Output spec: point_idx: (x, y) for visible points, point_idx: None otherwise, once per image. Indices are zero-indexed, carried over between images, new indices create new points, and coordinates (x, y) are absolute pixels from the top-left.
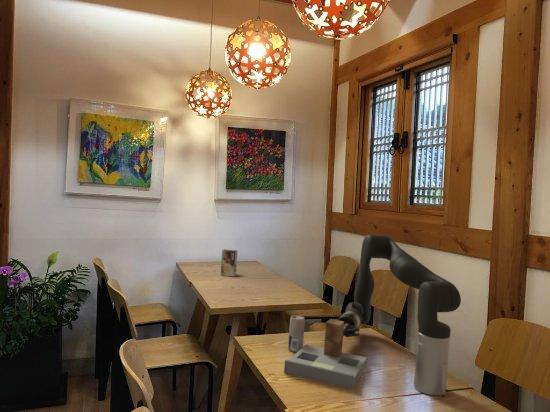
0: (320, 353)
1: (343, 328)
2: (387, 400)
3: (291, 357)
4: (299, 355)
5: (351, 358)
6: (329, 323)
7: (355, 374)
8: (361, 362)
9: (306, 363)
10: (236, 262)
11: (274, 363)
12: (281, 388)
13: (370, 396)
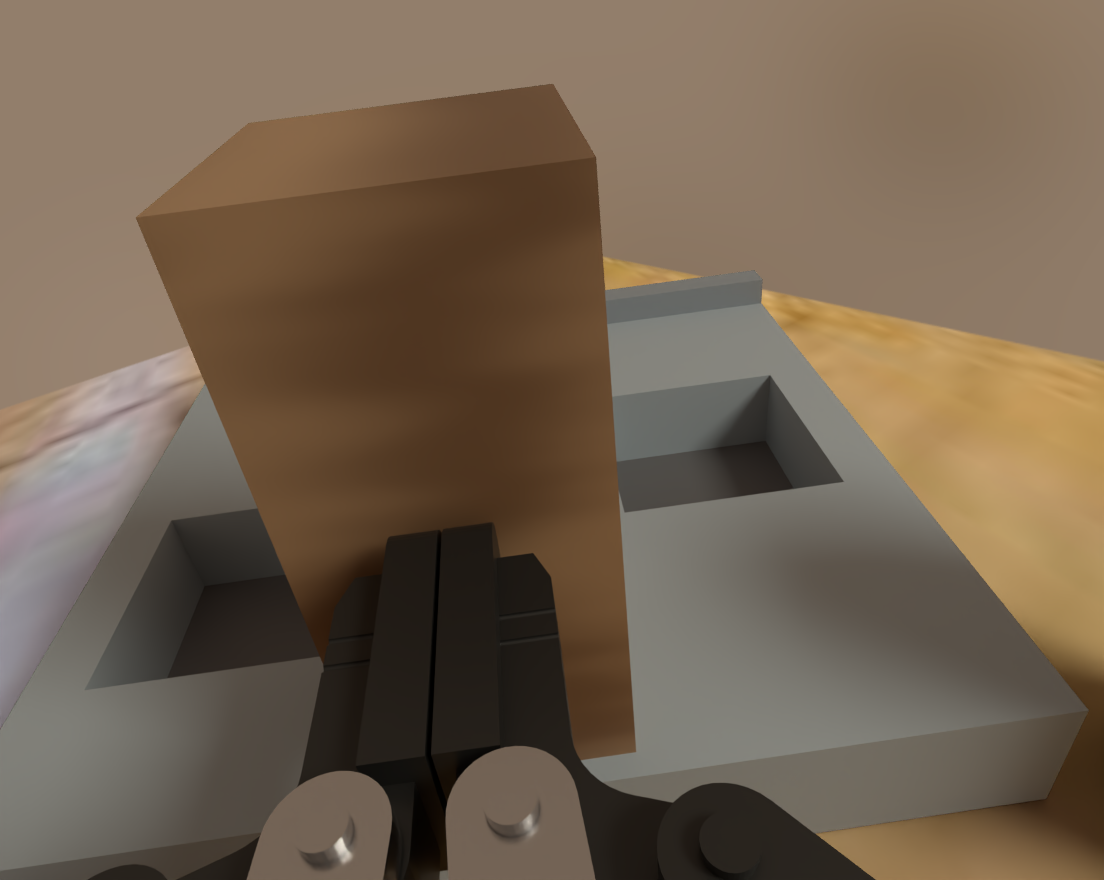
0: (648, 568)
1: (218, 403)
2: (8, 443)
3: (805, 360)
4: (803, 431)
5: (205, 678)
6: (480, 99)
7: (188, 418)
8: (70, 647)
9: (624, 355)
10: None
11: (941, 404)
12: (628, 278)
13: (119, 426)
